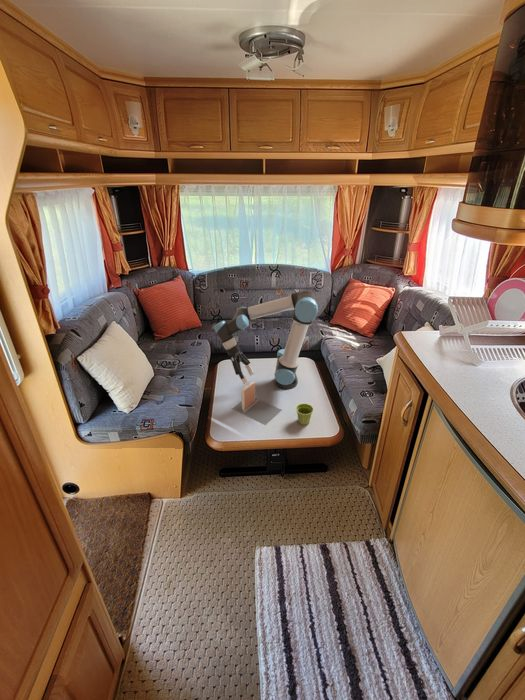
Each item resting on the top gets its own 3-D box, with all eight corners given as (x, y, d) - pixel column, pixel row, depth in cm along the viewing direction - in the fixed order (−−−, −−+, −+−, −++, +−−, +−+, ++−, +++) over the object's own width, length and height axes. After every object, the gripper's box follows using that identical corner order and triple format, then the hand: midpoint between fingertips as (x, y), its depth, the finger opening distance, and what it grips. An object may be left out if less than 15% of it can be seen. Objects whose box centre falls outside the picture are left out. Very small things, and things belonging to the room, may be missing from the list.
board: (231, 410, 198) (231, 407, 197) (249, 396, 210) (249, 394, 209) (265, 426, 186) (265, 423, 185) (282, 411, 197) (282, 408, 196)
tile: (242, 409, 197) (241, 389, 190) (252, 400, 204) (252, 381, 197) (244, 410, 196) (244, 390, 189) (255, 401, 203) (255, 382, 196)
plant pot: (294, 415, 194) (295, 403, 189) (311, 415, 193) (312, 403, 189) (295, 426, 185) (296, 414, 181) (313, 427, 185) (314, 414, 181)
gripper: (232, 343, 210) (249, 373, 213) (218, 356, 187) (237, 389, 190) (243, 338, 207) (259, 368, 211) (229, 350, 184) (248, 384, 187)
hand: (249, 378), depth 200 cm, fingers open, 13 cm apart
